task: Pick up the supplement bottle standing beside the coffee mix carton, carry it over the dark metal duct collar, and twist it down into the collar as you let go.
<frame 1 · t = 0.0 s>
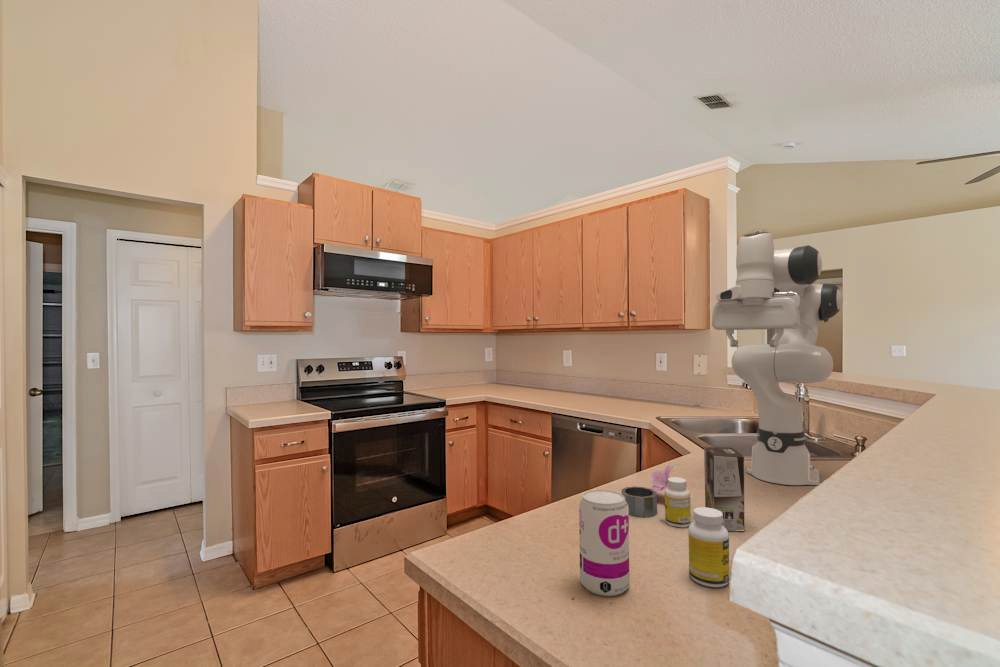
hand: (753, 347, 122), 39 cm above the countertop, tool pointing down, fingers open, 8 cm apart
pill bottle: (708, 580, 82), on the countertop
supplement can: (604, 586, 81), on the countertop
coffee box: (724, 524, 106), on the countertop
duct collar: (639, 510, 114), on the countertop
supplement bottle: (677, 524, 107), on the countertop
lily: (662, 500, 122), on the countertop
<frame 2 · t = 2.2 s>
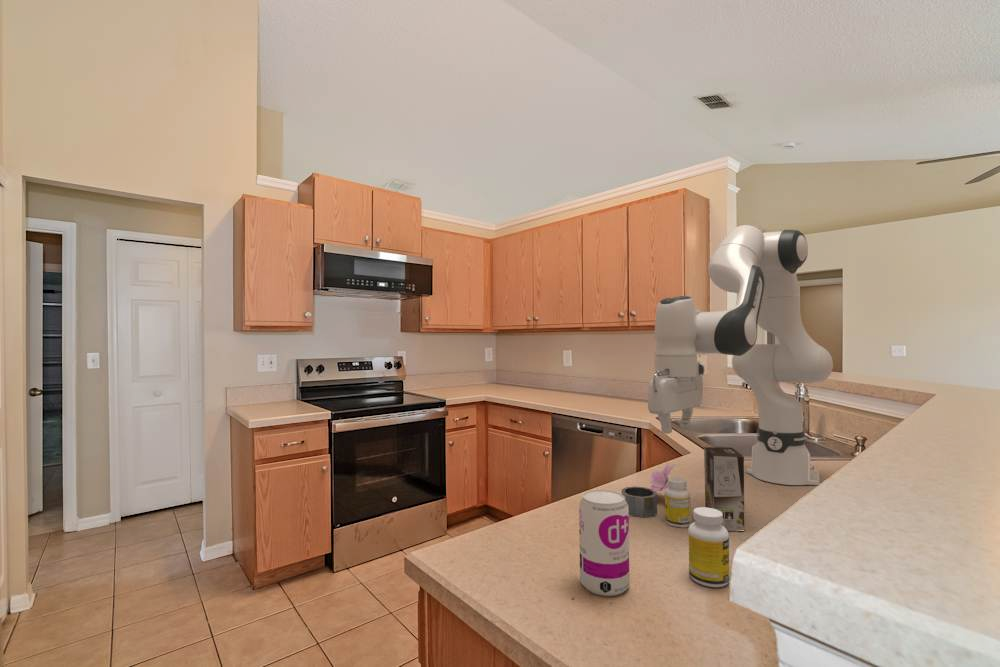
hand: (676, 430, 107), 21 cm above the countertop, tool pointing down, fingers open, 8 cm apart
nothing on the countertop moved.
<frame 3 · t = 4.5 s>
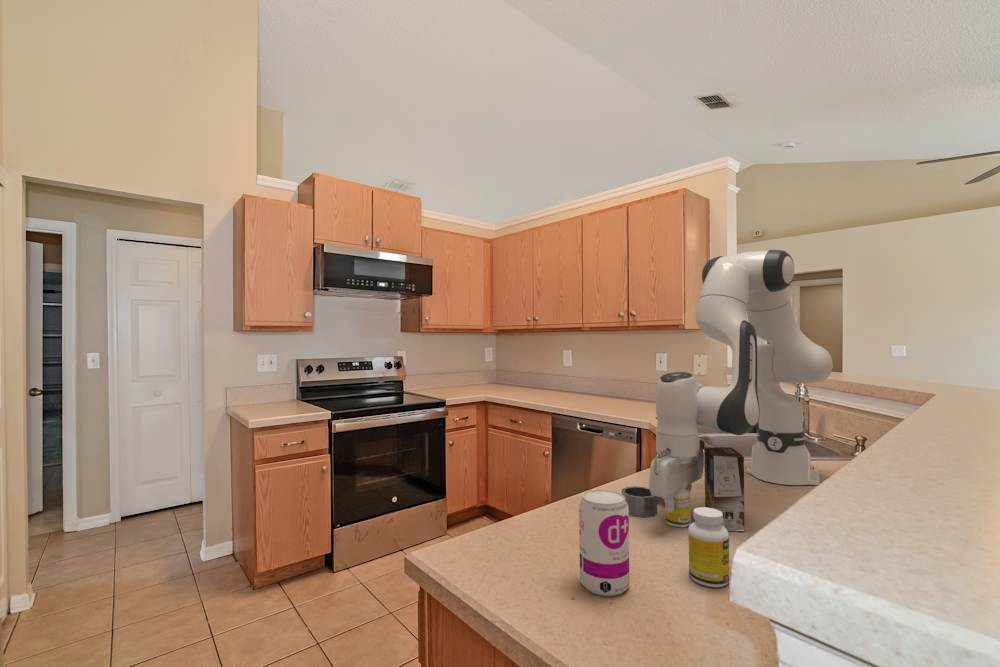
hand: (677, 506, 107), 4 cm above the countertop, tool pointing down, fingers closed on supplement bottle, 5 cm apart
supplement bottle: (677, 524, 107), on the countertop, touching gripper
everything else where it was.
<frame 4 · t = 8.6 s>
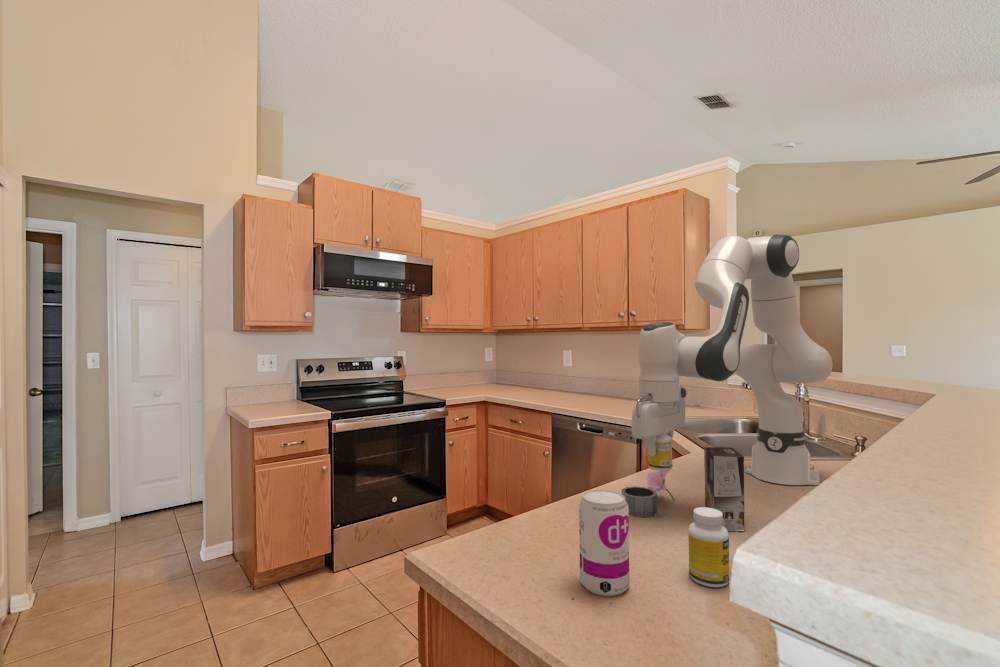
hand: (659, 452, 110), 15 cm above the countertop, tool pointing down, fingers closed on supplement bottle, 5 cm apart
supplement bottle: (659, 469, 110), point 11 cm above the countertop, touching gripper
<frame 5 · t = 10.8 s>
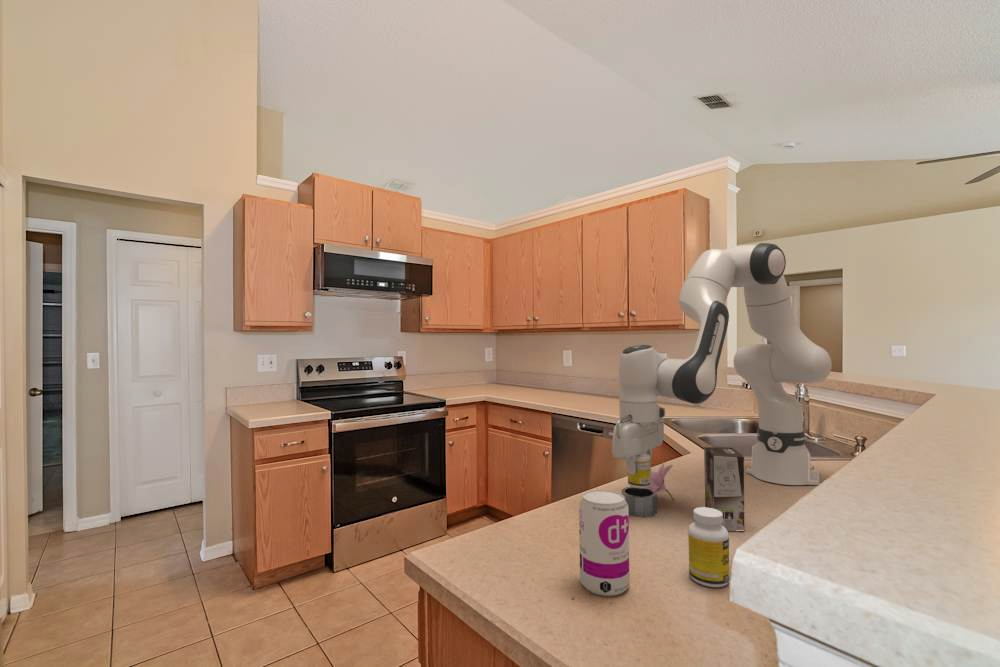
hand: (639, 470, 114), 10 cm above the countertop, tool pointing down, fingers closed on supplement bottle, 5 cm apart
supplement bottle: (639, 486, 114), point 6 cm above the countertop, touching gripper
lily: (657, 501, 121), on the countertop, touching duct collar
everything else where it was.
when the fingers open (6 cm above the countertop, at t = 12.7 s): supplement bottle drops 2 cm, resting in duct collar.
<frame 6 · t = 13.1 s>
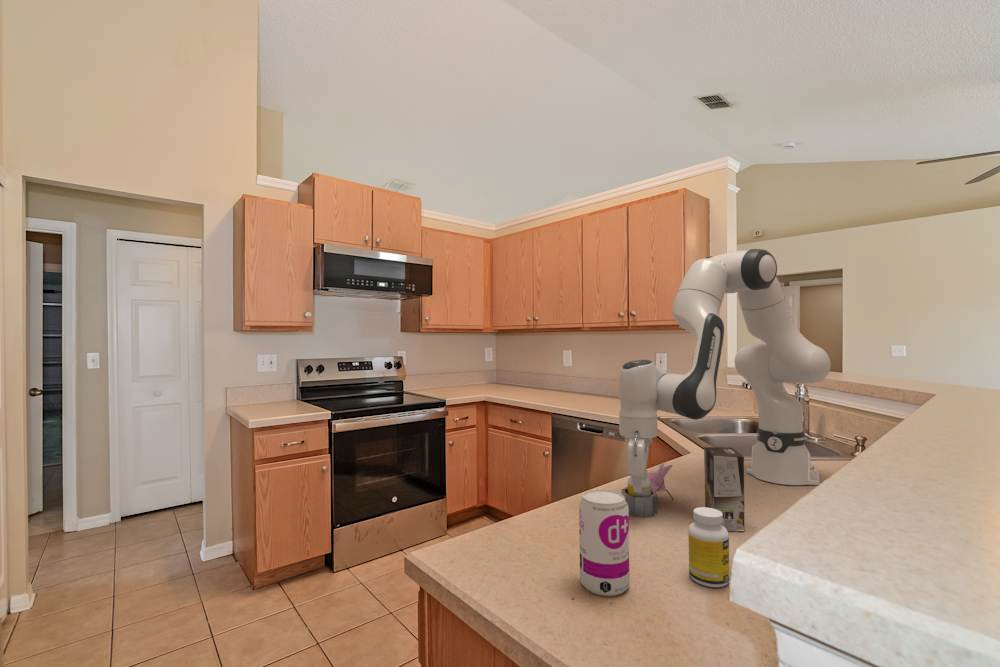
hand: (639, 485, 114), 6 cm above the countertop, tool pointing down, fingers open, 8 cm apart
supplement bottle: (639, 511, 115), resting in duct collar
lily: (657, 501, 121), on the countertop
everything else where it was.
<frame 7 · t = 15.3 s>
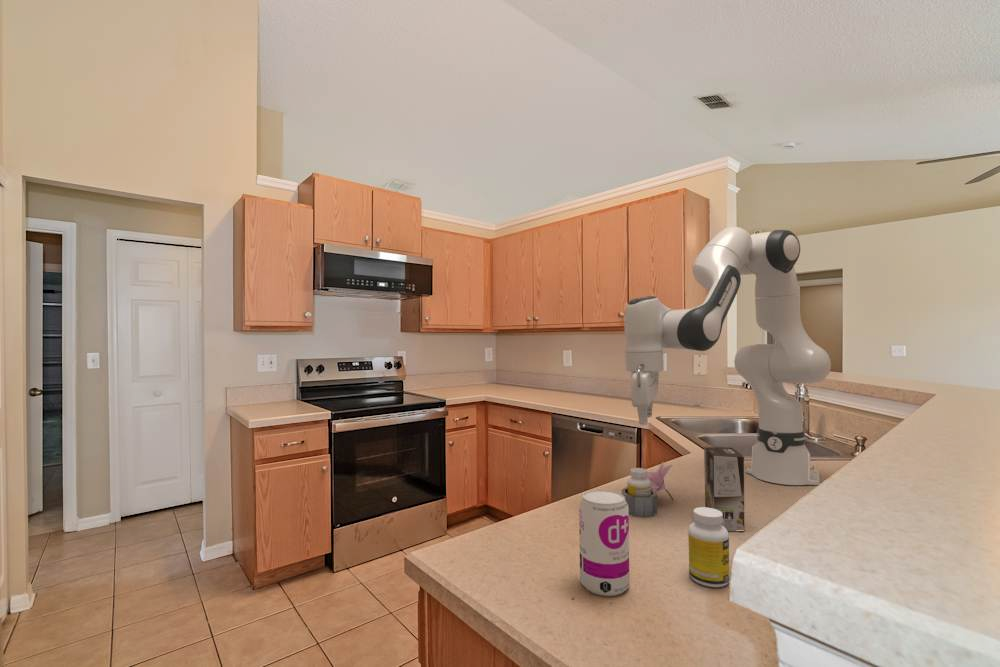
hand: (645, 420, 116), 22 cm above the countertop, tool pointing down, fingers open, 8 cm apart
nothing on the countertop moved.
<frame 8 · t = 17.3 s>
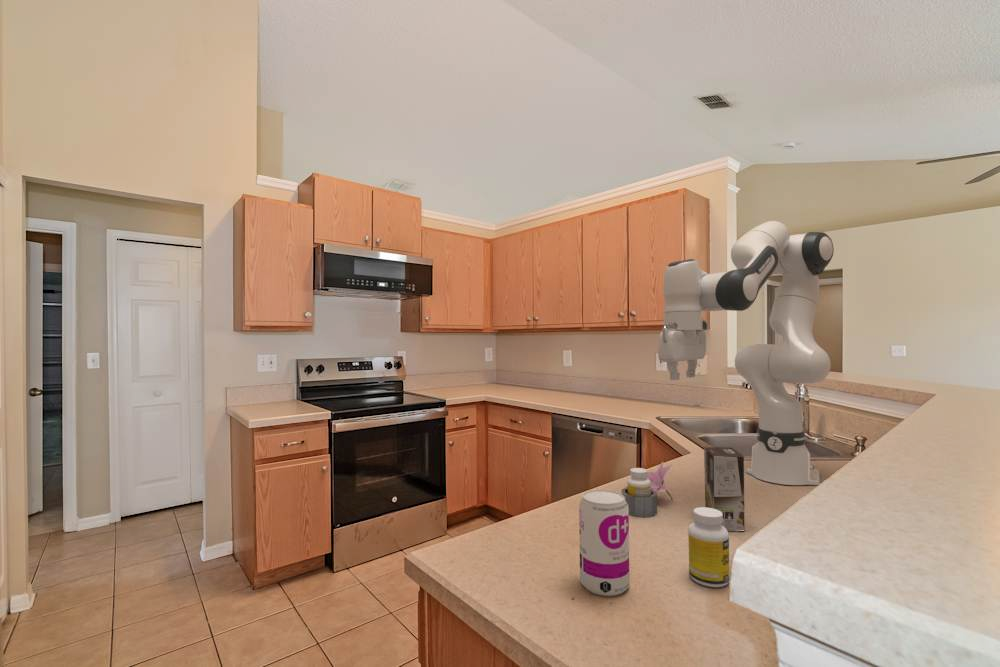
hand: (683, 378, 120), 31 cm above the countertop, tool pointing down, fingers open, 8 cm apart
nothing on the countertop moved.
at the end: supplement bottle 0.2 cm from the duct collar (horizontally); supplement bottle resting in duct collar; supplement bottle tilted 0° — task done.
